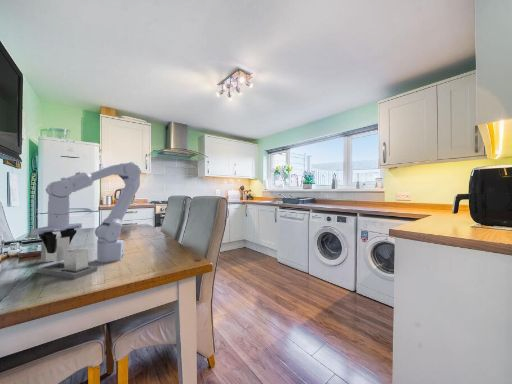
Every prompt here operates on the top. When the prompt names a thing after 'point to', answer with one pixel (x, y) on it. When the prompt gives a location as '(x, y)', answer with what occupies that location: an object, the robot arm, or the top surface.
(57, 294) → the top surface
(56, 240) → the block
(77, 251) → the billet
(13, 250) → the top surface
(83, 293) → the top surface
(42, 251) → the medicine box
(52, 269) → the grey flat frame
